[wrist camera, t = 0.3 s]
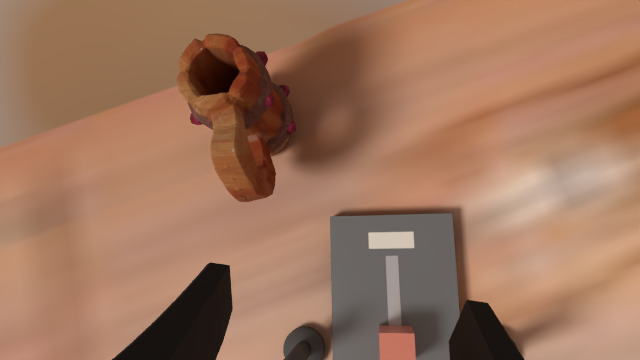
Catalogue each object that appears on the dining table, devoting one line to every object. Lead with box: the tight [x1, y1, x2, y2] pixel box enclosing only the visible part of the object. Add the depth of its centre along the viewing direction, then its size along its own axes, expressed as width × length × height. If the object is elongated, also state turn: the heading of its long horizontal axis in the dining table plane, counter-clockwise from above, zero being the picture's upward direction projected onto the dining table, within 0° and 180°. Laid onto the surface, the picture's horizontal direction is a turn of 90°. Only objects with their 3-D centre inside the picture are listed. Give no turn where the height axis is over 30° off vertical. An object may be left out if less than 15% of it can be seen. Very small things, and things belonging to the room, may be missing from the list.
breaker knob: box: [379, 325, 416, 360], centre depth 35 cm, size 3×3×4 cm
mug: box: [177, 34, 296, 202], centre depth 37 cm, size 15×8×15 cm, turn 12°
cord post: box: [284, 327, 325, 360], centre depth 35 cm, size 4×4×9 cm
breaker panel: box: [330, 213, 460, 360], centre depth 38 cm, size 20×12×2 cm, turn 1°
